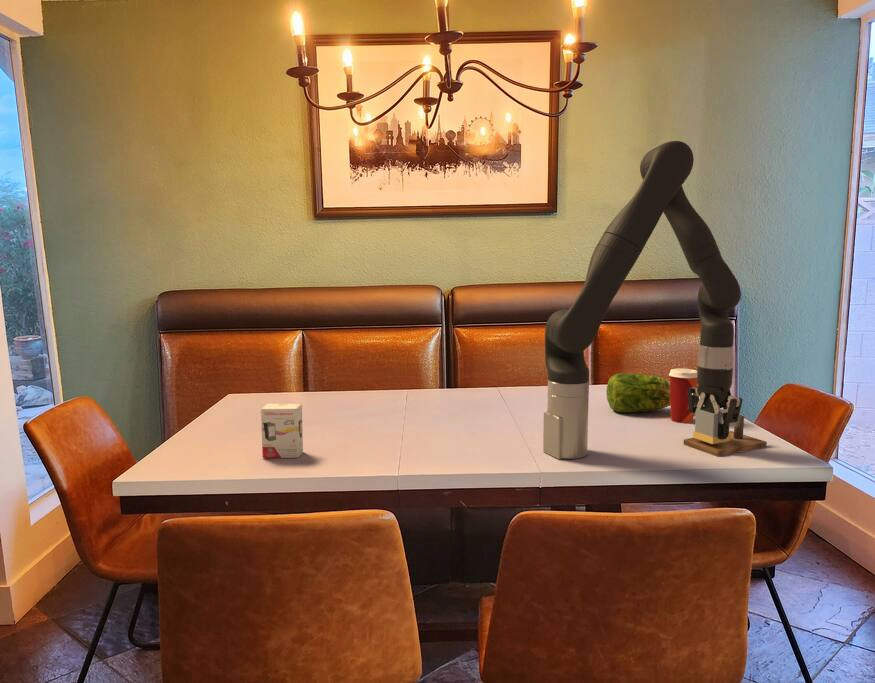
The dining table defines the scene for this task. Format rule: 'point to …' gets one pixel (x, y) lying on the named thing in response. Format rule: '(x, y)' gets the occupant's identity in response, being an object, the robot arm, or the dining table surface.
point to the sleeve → (707, 426)
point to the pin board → (728, 442)
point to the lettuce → (637, 392)
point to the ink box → (282, 430)
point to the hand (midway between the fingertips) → (711, 435)
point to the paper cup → (681, 394)
